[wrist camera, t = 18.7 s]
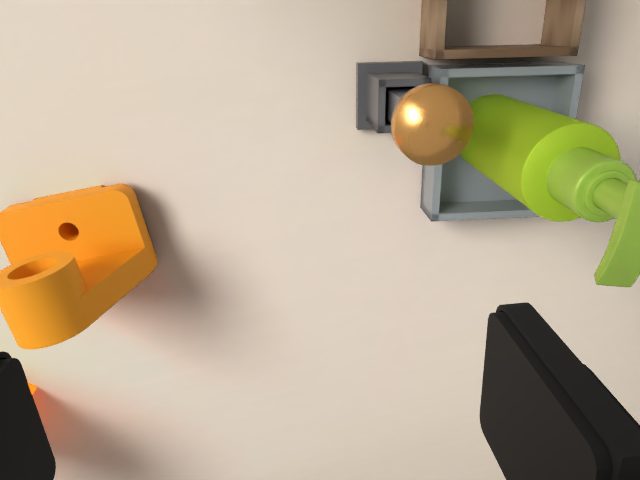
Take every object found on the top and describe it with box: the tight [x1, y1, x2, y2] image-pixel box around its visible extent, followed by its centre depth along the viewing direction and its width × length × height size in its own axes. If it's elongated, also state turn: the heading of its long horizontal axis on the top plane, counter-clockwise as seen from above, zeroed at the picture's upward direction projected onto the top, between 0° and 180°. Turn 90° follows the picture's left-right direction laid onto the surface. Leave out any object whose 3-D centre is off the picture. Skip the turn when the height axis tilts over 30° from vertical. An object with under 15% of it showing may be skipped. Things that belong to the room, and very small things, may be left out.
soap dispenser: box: [459, 94, 640, 287], centre depth 34 cm, size 6×7×20 cm
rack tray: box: [420, 62, 585, 221], centre depth 42 cm, size 12×11×4 cm
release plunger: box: [385, 83, 474, 166], centre depth 35 cm, size 4×4×13 cm
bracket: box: [0, 184, 158, 349], centre depth 39 cm, size 11×7×12 cm, turn 101°
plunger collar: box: [356, 61, 431, 133], centre depth 39 cm, size 5×5×6 cm
